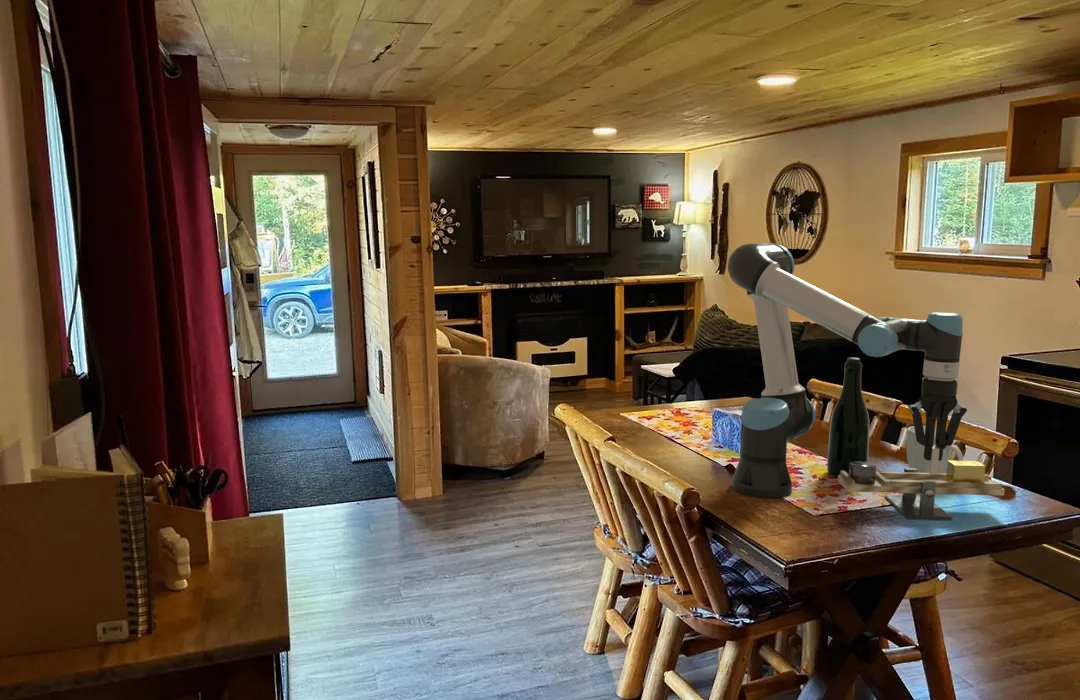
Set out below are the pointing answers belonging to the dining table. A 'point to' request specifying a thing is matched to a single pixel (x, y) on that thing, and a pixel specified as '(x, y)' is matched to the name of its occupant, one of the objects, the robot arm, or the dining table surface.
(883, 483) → the beam
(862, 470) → the counterweight
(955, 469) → the rider
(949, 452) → the mug
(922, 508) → the stand
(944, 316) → the robot arm
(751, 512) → the dining table surface
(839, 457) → the green wine bottle
